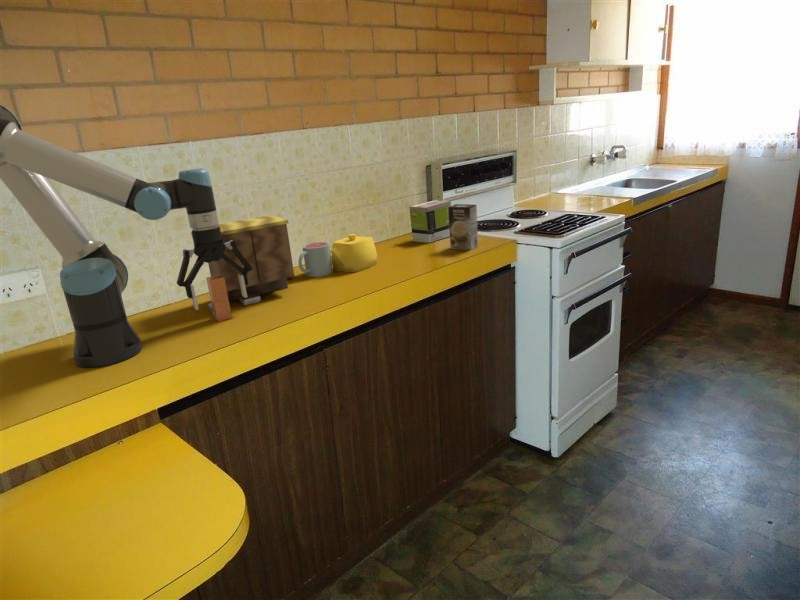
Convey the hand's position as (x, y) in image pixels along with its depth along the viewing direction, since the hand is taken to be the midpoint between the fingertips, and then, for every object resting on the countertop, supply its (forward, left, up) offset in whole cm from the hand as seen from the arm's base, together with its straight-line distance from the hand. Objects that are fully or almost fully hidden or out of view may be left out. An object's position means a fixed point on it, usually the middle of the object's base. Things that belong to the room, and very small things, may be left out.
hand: (221, 302), depth 160 cm
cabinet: (+14, +15, -5) cm, 21 cm away
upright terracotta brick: (0, +5, -5) cm, 7 cm away
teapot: (+52, +21, -5) cm, 56 cm away
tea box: (+97, +37, -5) cm, 104 cm away
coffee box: (+95, +13, -5) cm, 96 cm away
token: (+11, +10, -5) cm, 16 cm away
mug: (+38, +23, -5) cm, 45 cm away
